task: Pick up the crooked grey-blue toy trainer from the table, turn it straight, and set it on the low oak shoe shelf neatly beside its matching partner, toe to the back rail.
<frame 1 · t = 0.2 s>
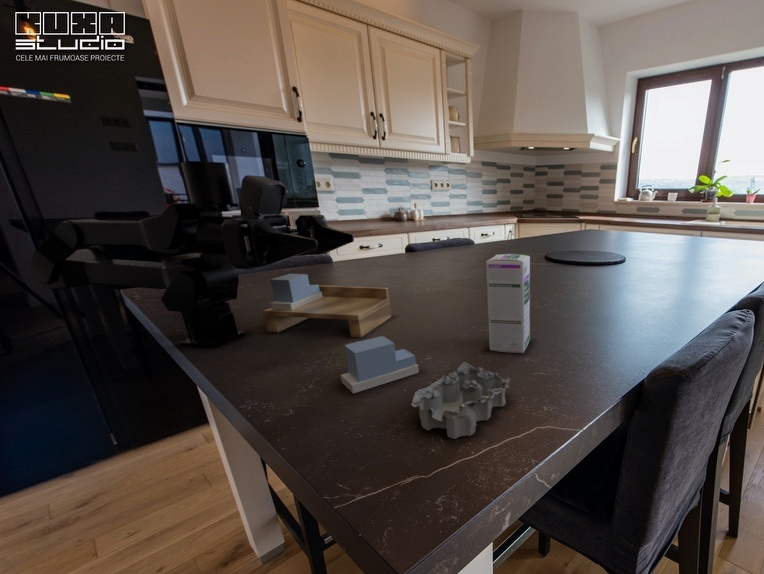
hand: (336, 240, 57), 17 cm above the table, tool horizontal, fingers open, 9 cm apart
syrup box: (509, 347, 65), on the table
shoe shelf: (333, 324, 75), on the table
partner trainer: (295, 304, 73), point 4 cm above the table, touching shoe shelf
trainer: (374, 379, 53), on the table
egg carton: (463, 412, 45), on the table
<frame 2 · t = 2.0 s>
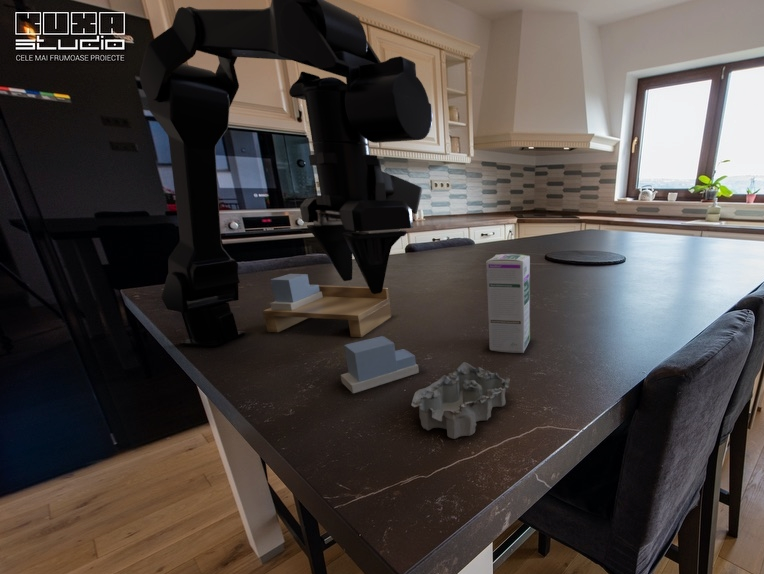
hand: (361, 286, 48), 13 cm above the table, tool pointing down, fingers open, 9 cm apart
nothing on the table moved.
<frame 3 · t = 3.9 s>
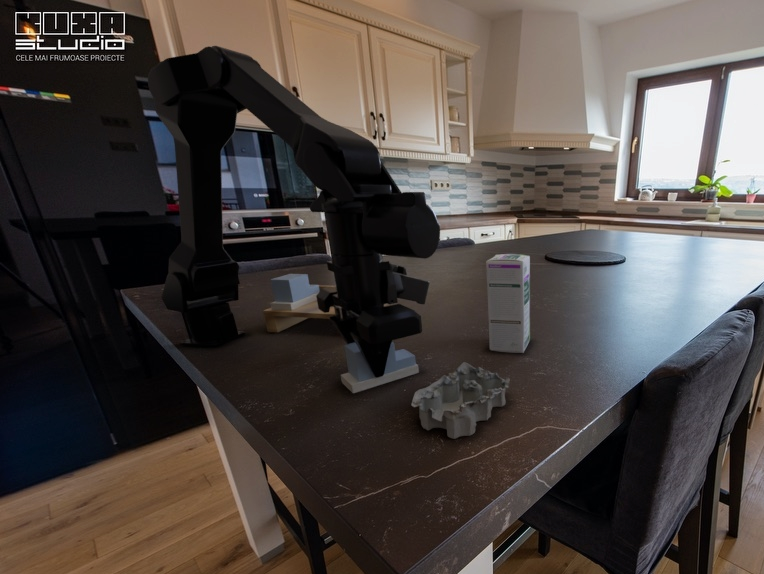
hand: (373, 371, 52), 1 cm above the table, tool pointing down, fingers closed on trainer, 3 cm apart
trainer: (374, 379, 53), on the table, touching gripper
everything else where it was.
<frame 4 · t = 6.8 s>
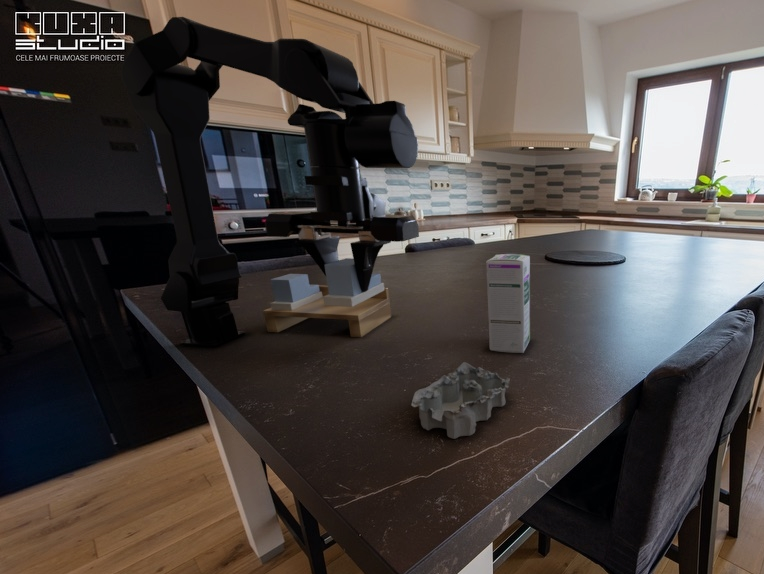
hand: (351, 290, 55), 11 cm above the table, tool pointing down, fingers closed on trainer, 3 cm apart
trainer: (352, 299, 55), point 10 cm above the table, touching gripper
everything else where it was.
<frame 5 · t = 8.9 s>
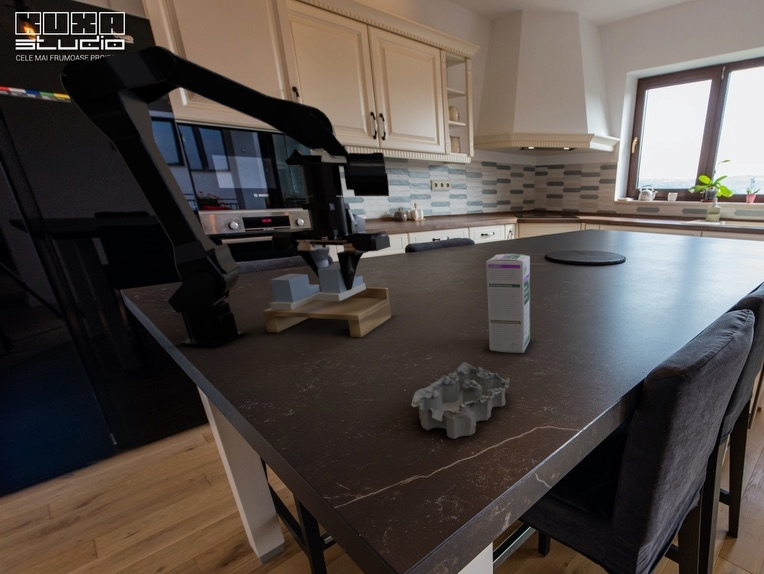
hand: (339, 289, 71), 7 cm above the table, tool pointing down, fingers closed on trainer, 3 cm apart
trainer: (340, 295, 71), point 6 cm above the table, touching gripper
everything else where it was.
when the fingers open (5 cm above the table, at t = 10.0 s): trainer stays where it is, resting on shoe shelf.
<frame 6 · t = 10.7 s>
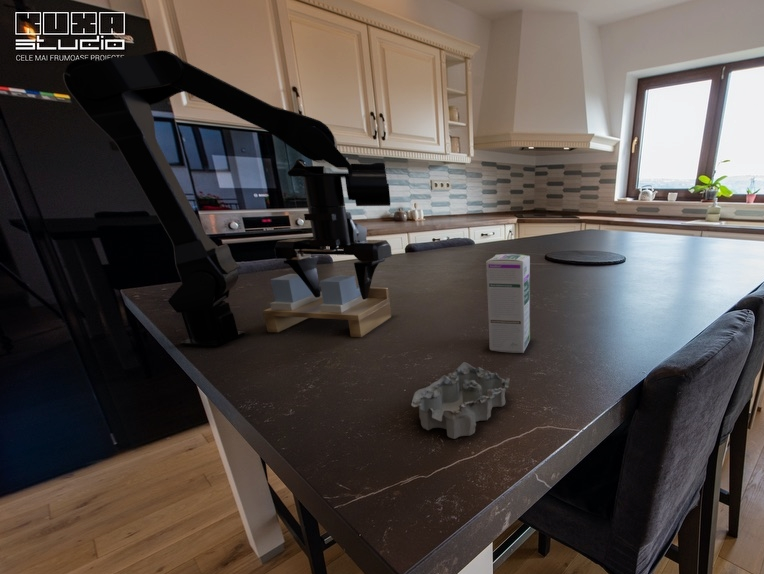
hand: (341, 298, 71), 6 cm above the table, tool pointing down, fingers open, 9 cm apart
trainer: (342, 306, 72), point 4 cm above the table, touching shoe shelf
everything else where it was.
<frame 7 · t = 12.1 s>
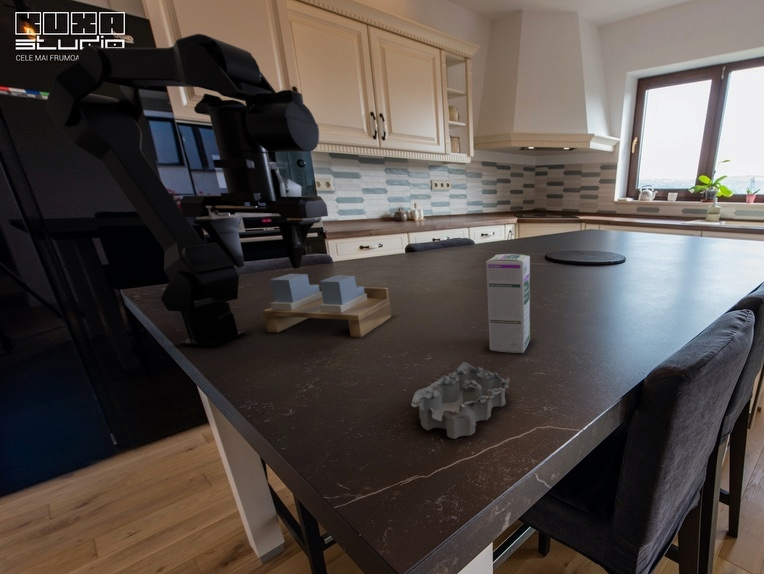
hand: (268, 267, 59), 13 cm above the table, tool pointing down, fingers open, 9 cm apart
nothing on the table moved.
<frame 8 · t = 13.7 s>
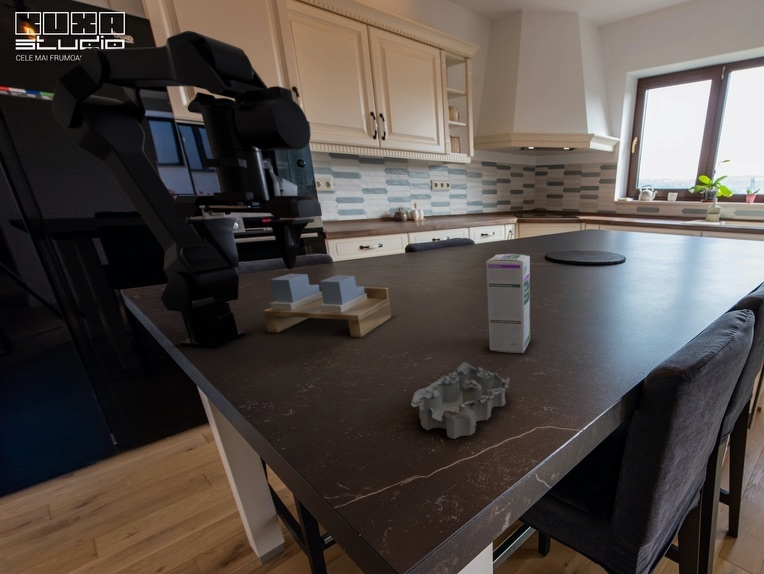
hand: (262, 268, 59), 13 cm above the table, tool pointing down, fingers open, 9 cm apart
nothing on the table moved.
at the end: trainer 0.4 cm from the target spot on the shoe shelf, point 4.0 cm above the shoe shelf's base; trainer tilted 0°; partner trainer moved 0.0 cm from its start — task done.
